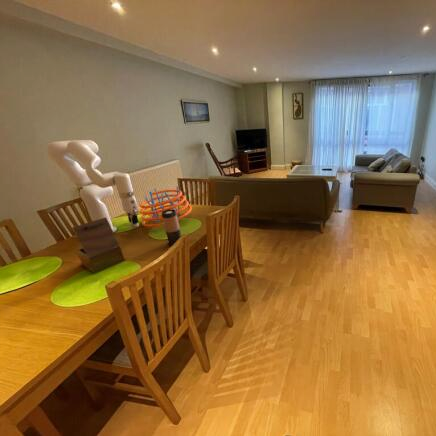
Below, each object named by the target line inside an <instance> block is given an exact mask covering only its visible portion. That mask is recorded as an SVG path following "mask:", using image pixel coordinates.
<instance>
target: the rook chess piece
mask: <svg viewBox="0 0 436 436" xmlns="http://www.w3.org/2000/svg"><path fill="white" fill-rule="evenodd" d="M133 215H134V214H133ZM129 217H130V219H131V223H130V227H131V228H138V227H139V226H140V225H139V223H136V224H133V222H132V216H131V214H130V216H129Z"/></svg>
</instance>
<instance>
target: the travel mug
mask: <svg viewBox="0 0 436 436" xmlns="http://www.w3.org/2000/svg"><path fill="white" fill-rule="evenodd" d="M177 214H178V213H177ZM177 214H176V209H174V210H173V209H170V210H165V211H163V212H161V216H162V218H163V219H162V223H164V225H163V226H164V230H165V234H166V237H167V241H168V244H169V245H170V246H174V245H173V244H174V243H175V242H176V241H177V240H178V239H179V238H180V237H181V238H182V234H181V233H182V232H181V228H180V224H179V221H178V219H177V217H178V215H177Z"/></svg>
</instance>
